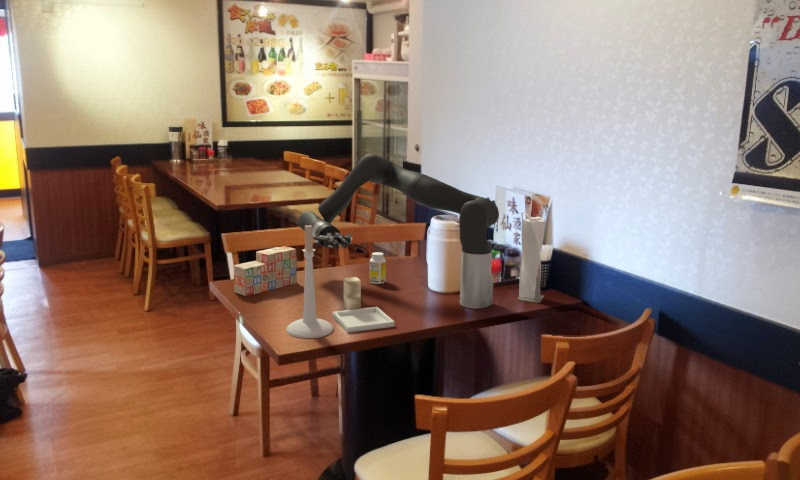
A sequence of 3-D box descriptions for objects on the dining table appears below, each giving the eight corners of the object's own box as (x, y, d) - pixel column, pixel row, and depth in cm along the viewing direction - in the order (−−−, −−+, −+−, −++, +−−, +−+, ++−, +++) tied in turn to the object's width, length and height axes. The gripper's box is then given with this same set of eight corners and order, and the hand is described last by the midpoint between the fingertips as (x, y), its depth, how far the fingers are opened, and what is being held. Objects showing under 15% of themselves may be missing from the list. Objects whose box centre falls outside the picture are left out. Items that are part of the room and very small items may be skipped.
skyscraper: (513, 299, 217) (517, 214, 211) (518, 292, 225) (523, 209, 218) (539, 303, 214) (545, 216, 208) (544, 296, 222) (549, 212, 215)
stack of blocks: (245, 296, 216) (244, 259, 213) (234, 292, 220) (232, 256, 217) (297, 283, 232) (296, 248, 229) (285, 279, 236) (284, 245, 233)
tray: (377, 311, 204) (377, 306, 204) (394, 326, 191) (394, 321, 191) (332, 316, 199) (332, 311, 198) (347, 332, 186) (347, 327, 186)
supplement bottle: (384, 279, 237) (384, 251, 235) (386, 284, 232) (387, 255, 230) (368, 280, 236) (368, 251, 234) (370, 284, 231) (370, 255, 229)
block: (356, 308, 207) (356, 276, 204) (360, 312, 203) (360, 280, 201) (343, 309, 205) (343, 278, 203) (347, 313, 201) (347, 281, 199)
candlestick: (335, 336, 183) (335, 228, 176) (287, 339, 181) (285, 229, 174) (330, 320, 195) (329, 218, 189) (285, 323, 193) (283, 220, 186)
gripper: (305, 224, 221) (320, 235, 205) (345, 221, 226) (362, 232, 211) (305, 246, 223) (320, 259, 207) (345, 243, 228) (362, 255, 212)
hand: (341, 245), depth 209 cm, fingers closed
